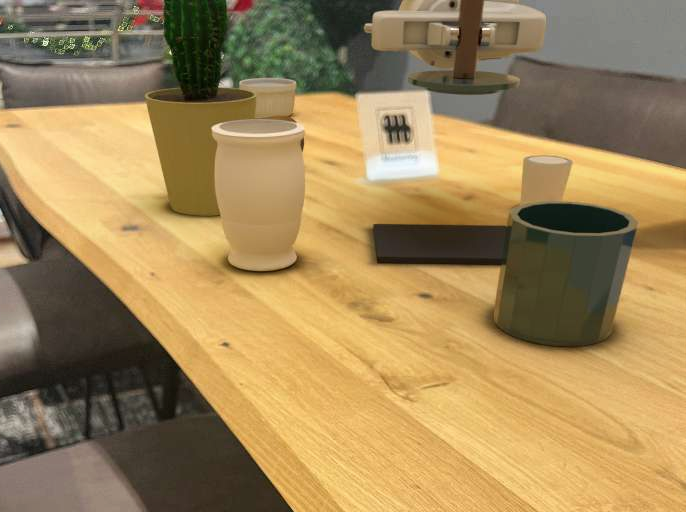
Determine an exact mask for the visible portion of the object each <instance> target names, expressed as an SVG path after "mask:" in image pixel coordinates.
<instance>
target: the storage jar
mask: <svg viewBox="0 0 686 512" xmlns="http://www.w3.org/2000/svg"><path fill="white" fill-rule="evenodd" d="M638 226H639V220H637V219H636V218H634V217H633V216H632V215H631V213H628V212H625V211H622V210H619V209H617V208H612V207H608V206H603V205H598V204H595V203H587V202H578V201H565V200H562V201H544V202H535V203H527V204H524V205H520V204H519V205H518V206H515V207H512V209H510V211H509V212H508V214H507V223H506V227H507V228H506V235H505V241H504V248H503V254H502V261H501V265H500V269H499V275H498V280H497V288H496V294H495V300H494V308H493V321H494V323H495V325H496V327H498V328H499V329H500V330H501V331H502V332H504V333H505V334H508V335H510V336H512V337H514V338H517V339H518V340H522V341H526V342H529V343H532V344H533V343H534V344H538V345H544V346H550V347H563V348H565V347H572V348H573V347H584V346H589V345H594V344H597V343H598V344H599V343H601V342H602V341H604V340H606V339H607V338H608V337H609V336H610V335H611V333H612V329H613V326H614V323H615V318H616V314H617V311H618V306H619V303H620V299H621V295H622V291H623V287H624V283H625V278H626V274H627V272H628V271H627V270H628V267H629V263H630V260H631V255H632V251H633V247H634V243H635V239H636V234H637V230H638Z"/></svg>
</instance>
